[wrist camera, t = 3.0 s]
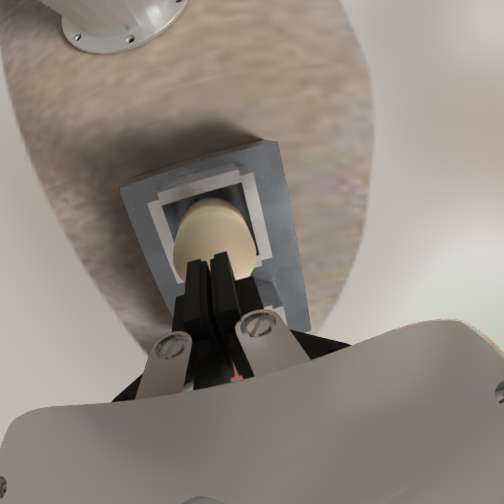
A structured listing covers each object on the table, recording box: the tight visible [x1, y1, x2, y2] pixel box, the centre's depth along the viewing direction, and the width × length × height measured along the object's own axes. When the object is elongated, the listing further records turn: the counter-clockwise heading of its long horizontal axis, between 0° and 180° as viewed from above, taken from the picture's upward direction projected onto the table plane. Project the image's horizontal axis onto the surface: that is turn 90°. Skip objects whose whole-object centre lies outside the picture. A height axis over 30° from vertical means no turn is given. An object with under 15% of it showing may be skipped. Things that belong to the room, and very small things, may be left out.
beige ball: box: [173, 198, 256, 282], centre depth 16 cm, size 4×4×4 cm
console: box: [119, 140, 311, 333], centre depth 24 cm, size 18×12×9 cm, turn 13°
